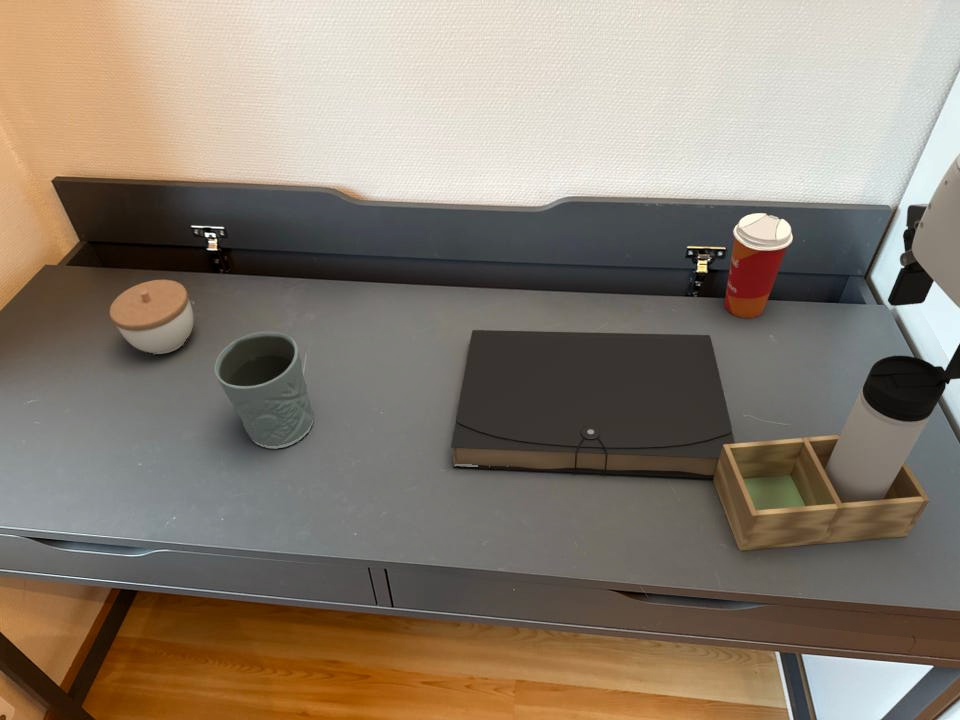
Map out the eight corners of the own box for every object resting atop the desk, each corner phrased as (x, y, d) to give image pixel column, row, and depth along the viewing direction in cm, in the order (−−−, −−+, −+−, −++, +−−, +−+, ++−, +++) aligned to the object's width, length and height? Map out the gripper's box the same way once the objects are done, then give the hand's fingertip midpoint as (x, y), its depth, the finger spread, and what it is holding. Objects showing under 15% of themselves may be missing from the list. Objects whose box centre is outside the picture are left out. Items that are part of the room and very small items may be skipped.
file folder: (450, 446, 83) (473, 322, 101) (453, 469, 86) (474, 344, 104) (739, 458, 79) (709, 327, 97) (733, 481, 82) (704, 350, 100)
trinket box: (166, 312, 112) (144, 263, 105) (218, 328, 108) (198, 279, 102) (114, 354, 105) (87, 305, 99) (168, 373, 101) (143, 324, 95)
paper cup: (731, 284, 109) (749, 205, 100) (779, 302, 105) (803, 222, 96) (707, 310, 105) (725, 230, 95) (757, 330, 101) (780, 249, 92)
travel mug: (887, 524, 76) (965, 396, 63) (825, 525, 77) (888, 398, 63) (866, 477, 81) (933, 349, 67) (807, 478, 81) (862, 351, 68)
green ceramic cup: (276, 466, 88) (249, 400, 79) (226, 431, 92) (195, 365, 84) (335, 416, 93) (315, 349, 85) (284, 386, 98) (261, 320, 90)
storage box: (866, 467, 83) (885, 430, 78) (906, 536, 76) (930, 500, 71) (712, 480, 82) (722, 444, 78) (739, 551, 76) (752, 515, 71)
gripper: (1166, 219, 44) (1037, 404, 56) (1000, 104, 57) (923, 275, 69) (1046, 230, 44) (943, 413, 56) (907, 113, 57) (847, 282, 69)
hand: (932, 337), depth 62 cm, fingers open, 9 cm apart
